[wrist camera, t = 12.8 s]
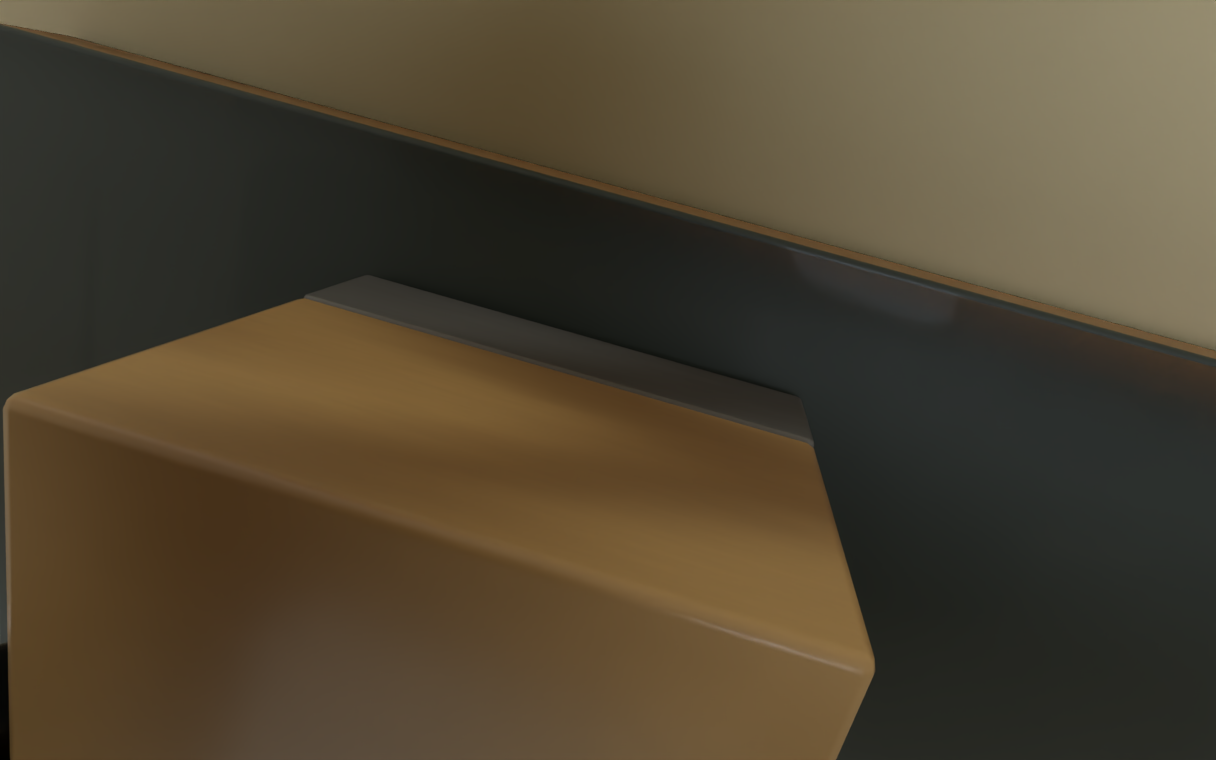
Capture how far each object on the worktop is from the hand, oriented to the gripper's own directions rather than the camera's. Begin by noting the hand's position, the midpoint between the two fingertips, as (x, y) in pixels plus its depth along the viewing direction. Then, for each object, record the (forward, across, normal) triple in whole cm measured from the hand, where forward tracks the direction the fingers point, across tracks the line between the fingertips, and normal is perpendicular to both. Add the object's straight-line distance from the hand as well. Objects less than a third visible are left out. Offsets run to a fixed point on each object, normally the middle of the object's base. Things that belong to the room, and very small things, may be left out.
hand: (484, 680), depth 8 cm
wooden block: (+1, 0, 0) cm, 1 cm away
